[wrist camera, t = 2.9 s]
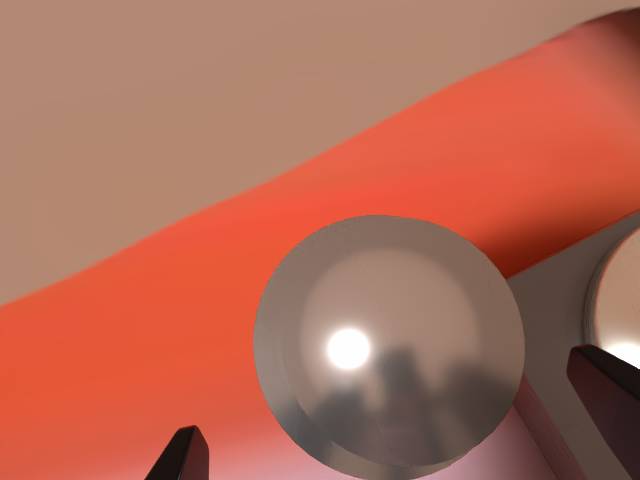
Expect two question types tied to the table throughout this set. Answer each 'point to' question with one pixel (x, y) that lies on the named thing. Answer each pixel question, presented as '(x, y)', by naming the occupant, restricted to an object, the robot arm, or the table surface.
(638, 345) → the bench scale
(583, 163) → the table surface
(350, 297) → the steel weight
